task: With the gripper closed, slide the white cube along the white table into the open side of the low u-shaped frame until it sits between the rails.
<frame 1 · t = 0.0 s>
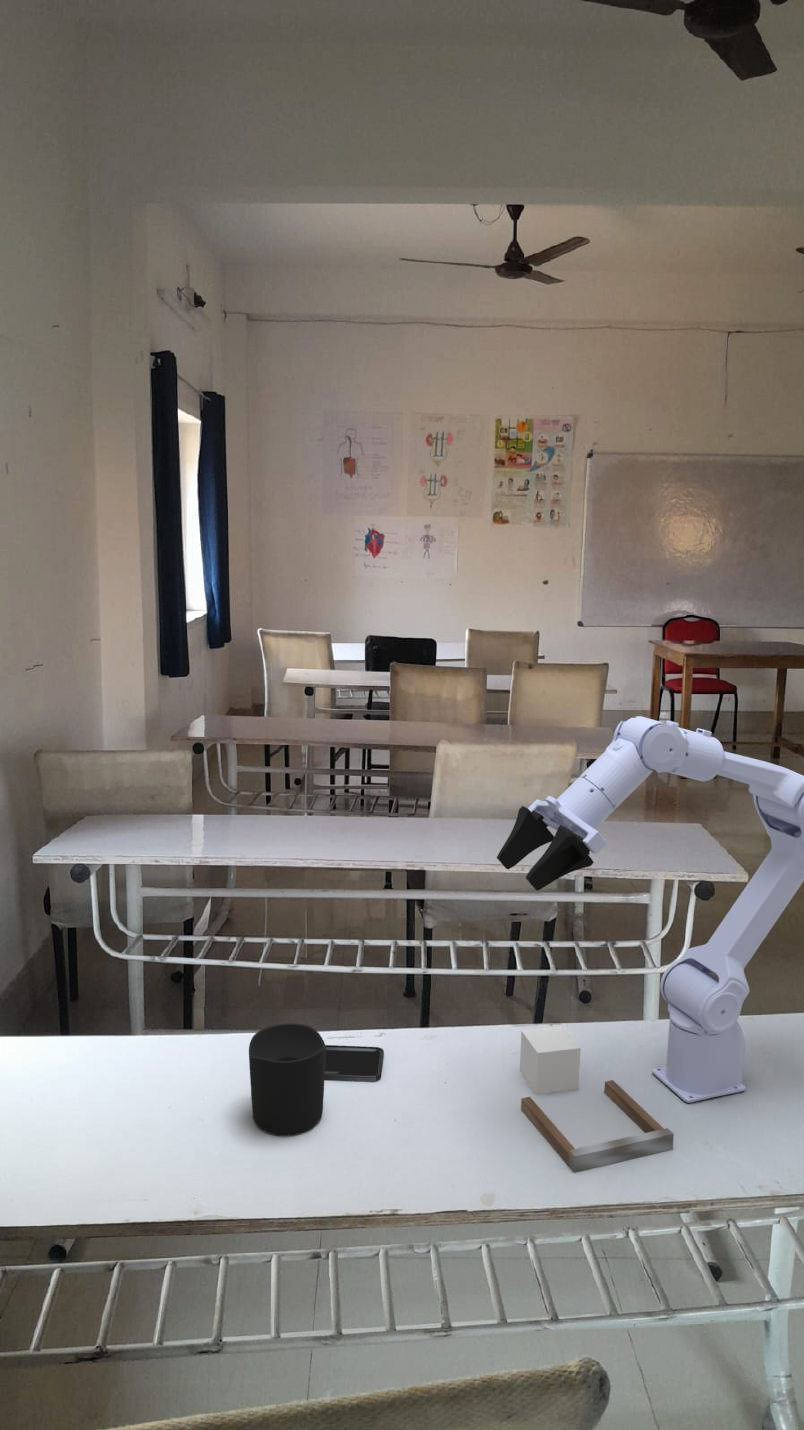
hand: (516, 873, 114), 32 cm above the table, tool tilted 50°, fingers open, 7 cm apart
phone: (327, 1068, 132), on the table
u-shaped frame: (591, 1125, 119), on the table
pen holder: (287, 1117, 120), on the table
white cube: (548, 1081, 130), on the table
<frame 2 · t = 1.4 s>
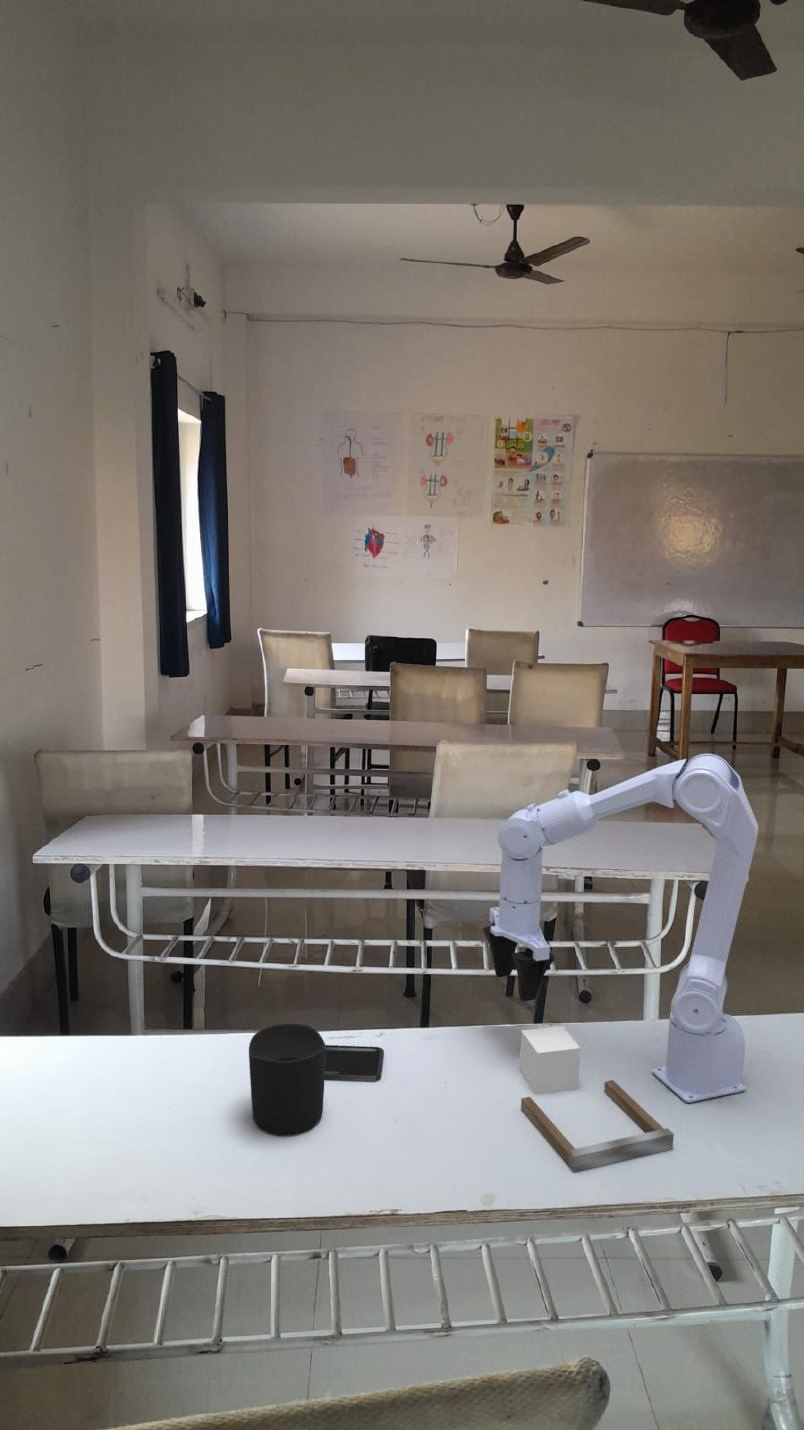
hand: (515, 987, 137), 9 cm above the table, tool pointing down, fingers open, 7 cm apart
nothing on the table moved.
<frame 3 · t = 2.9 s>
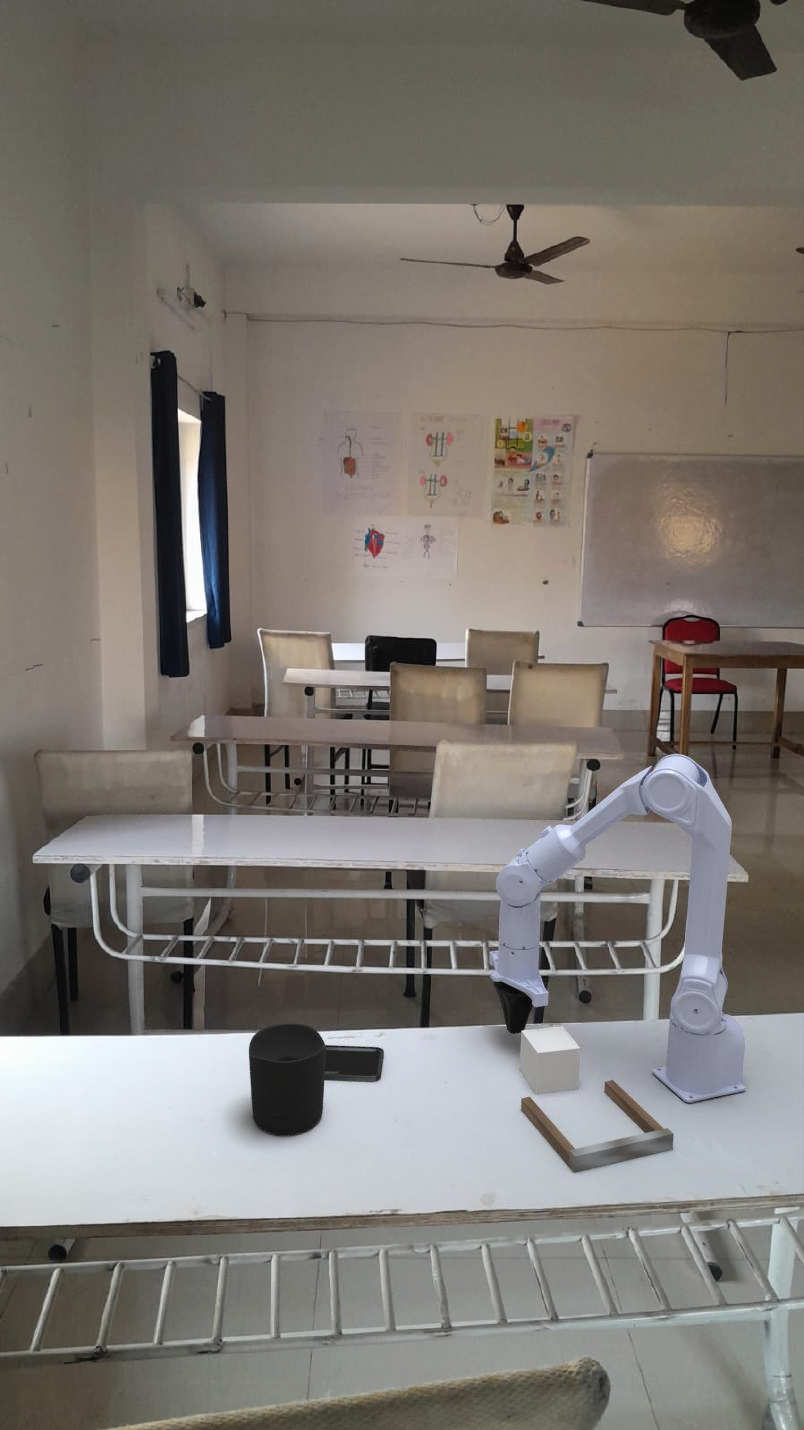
hand: (515, 1031, 138), 2 cm above the table, tool pointing down, fingers closed
nothing on the table moved.
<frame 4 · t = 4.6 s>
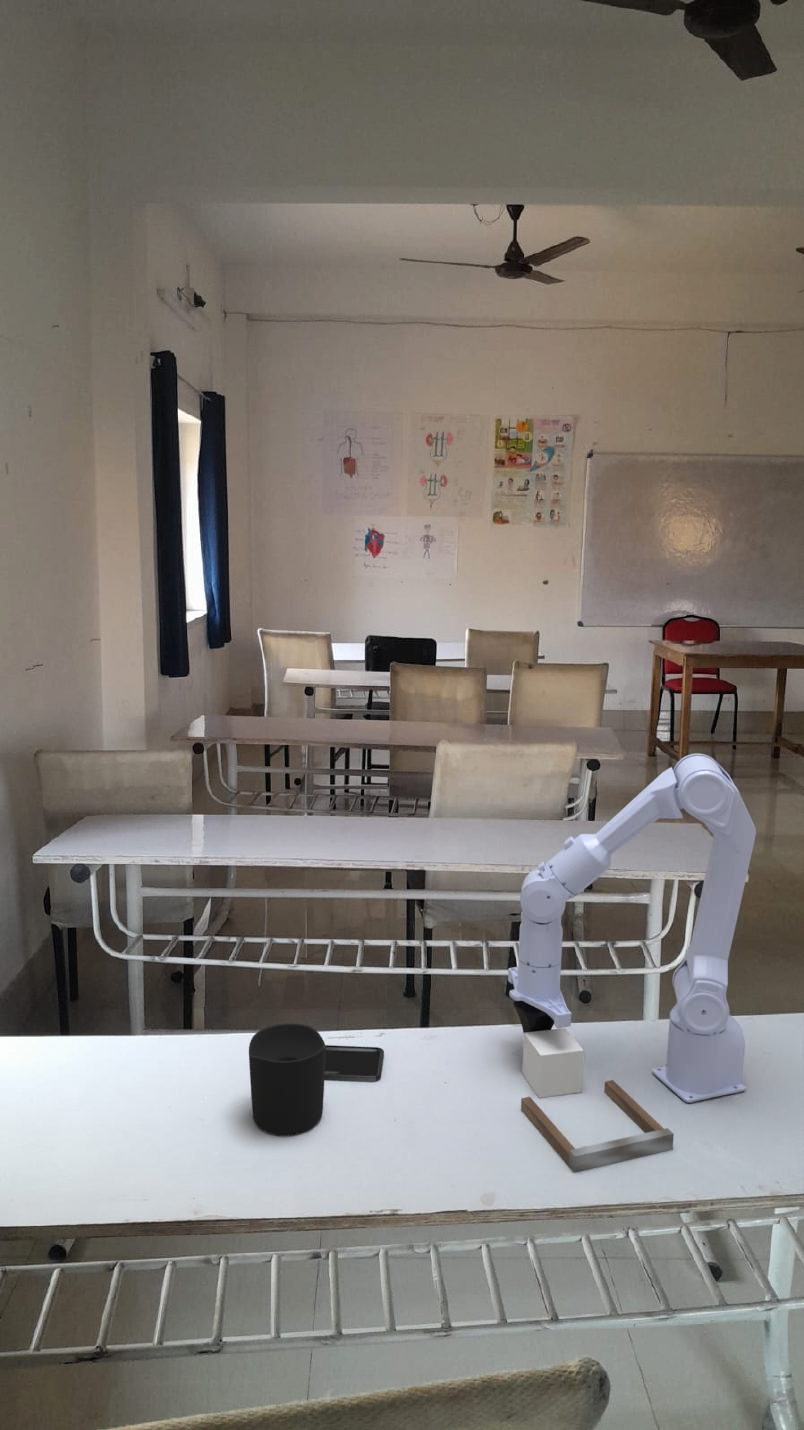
hand: (535, 1051, 133), 2 cm above the table, tool pointing down, fingers closed
white cube: (551, 1084, 129), on the table, touching gripper
everything else where it was.
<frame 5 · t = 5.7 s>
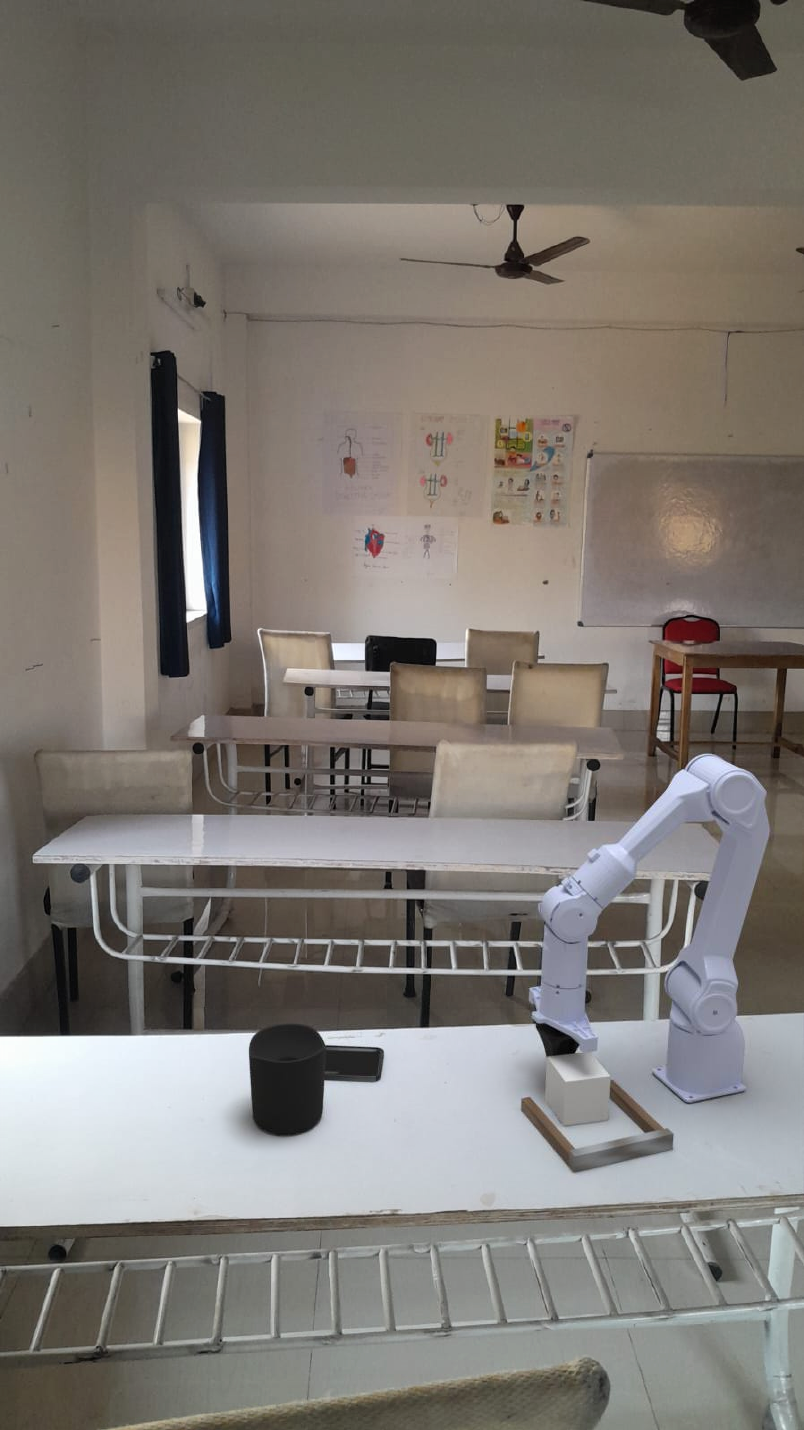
hand: (558, 1076, 127), 2 cm above the table, tool pointing down, fingers closed
white cube: (575, 1110, 123), on the table, touching gripper
everything else where it was.
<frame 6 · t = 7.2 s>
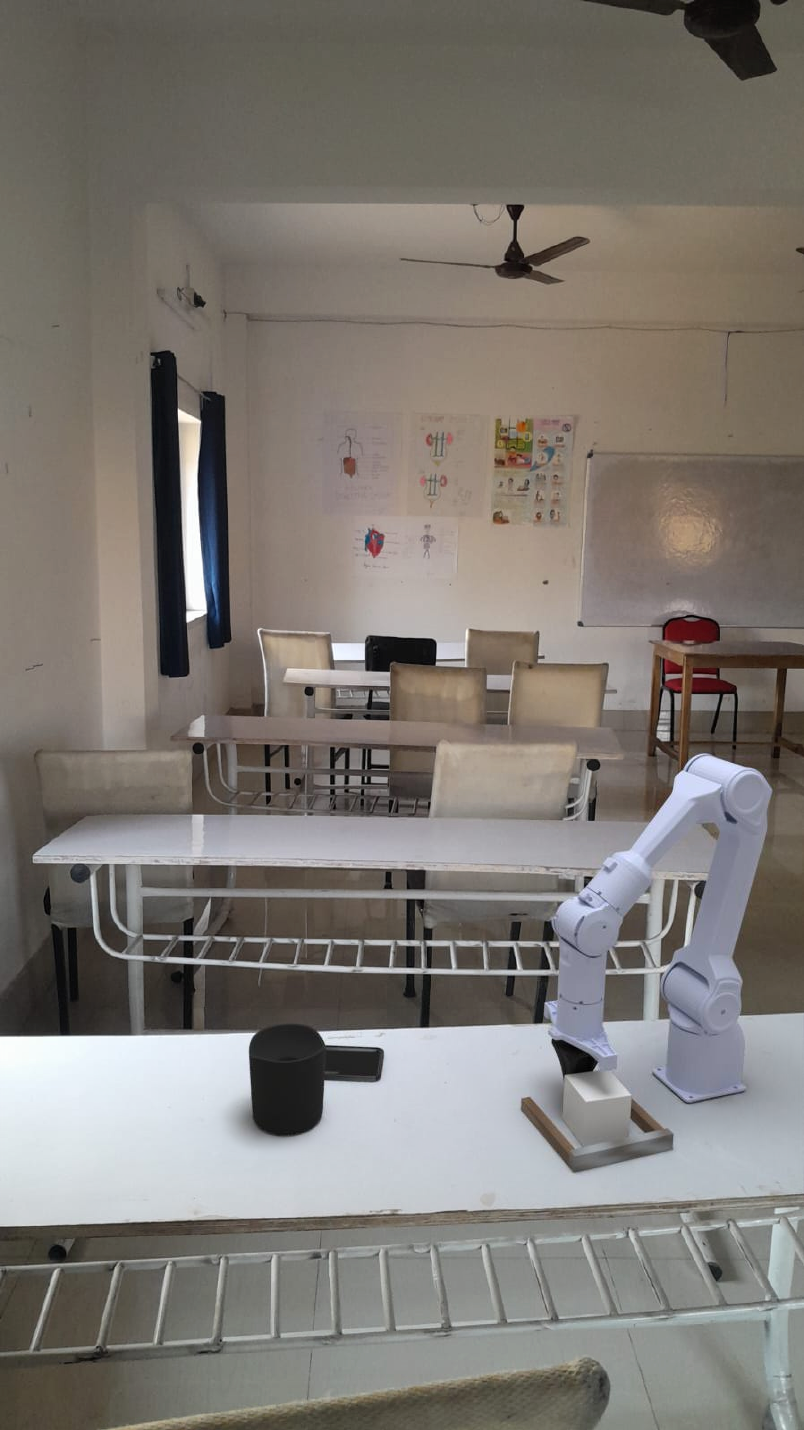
hand: (575, 1094, 123), 2 cm above the table, tool pointing down, fingers closed
white cube: (594, 1131, 119), on the table, touching gripper
everything else where it was.
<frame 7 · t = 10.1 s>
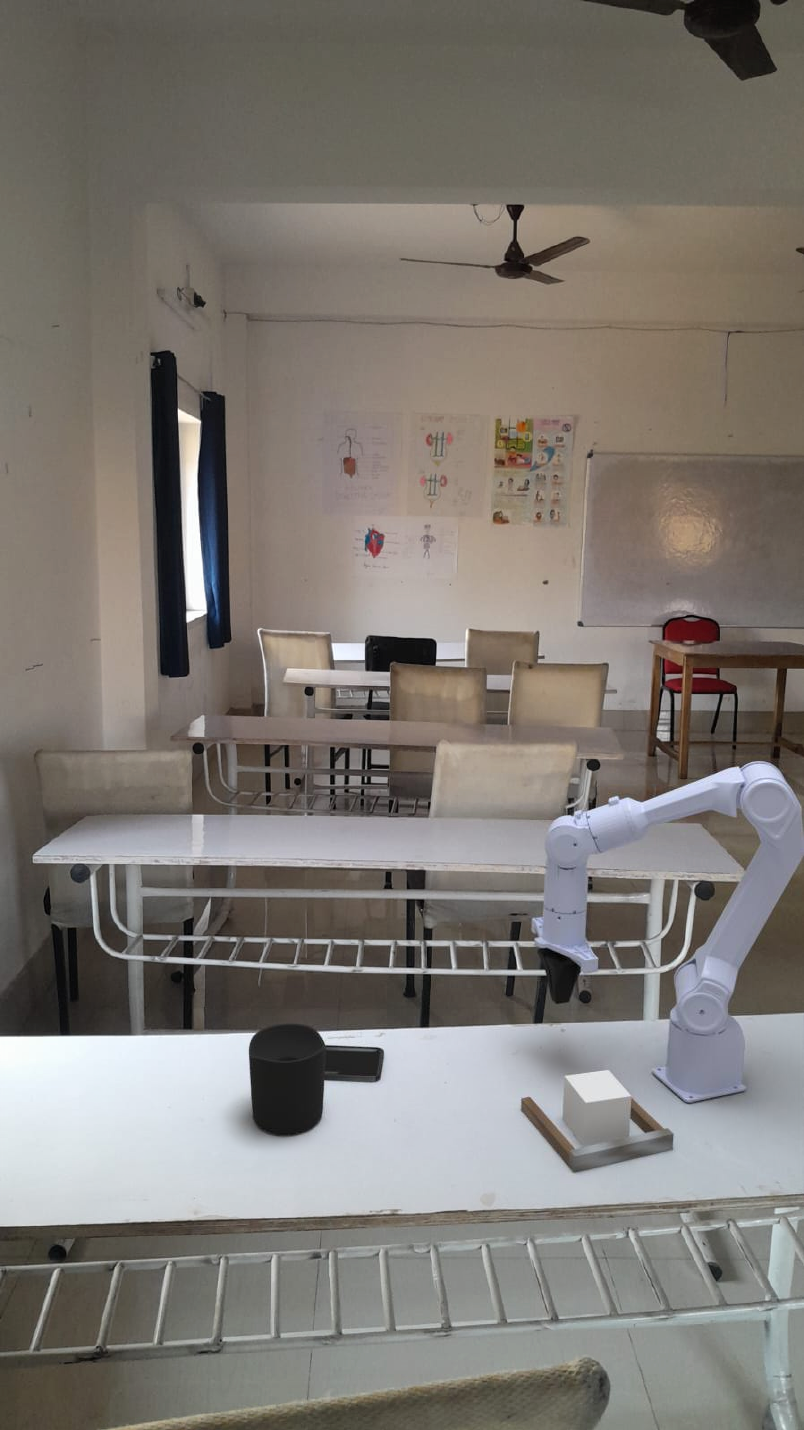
hand: (560, 1001, 132), 9 cm above the table, tool pointing down, fingers closed
white cube: (594, 1131, 119), on the table
everything else where it was.
at the end: white cube 1.0 cm from the target spot, on the table; white cube moved 11.8 cm from its start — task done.
